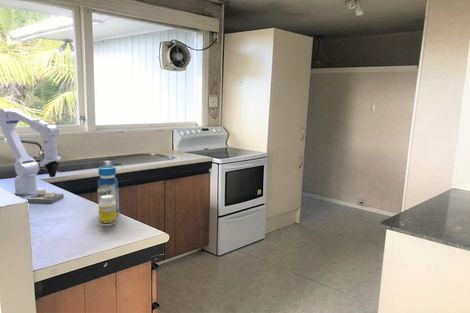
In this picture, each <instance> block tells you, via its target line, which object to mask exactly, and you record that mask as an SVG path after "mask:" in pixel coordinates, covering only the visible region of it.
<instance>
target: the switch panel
mask: <svg viewBox="0 0 470 313" xmlns="http://www.w3.org/2000/svg"><path fill="white" fill-rule="evenodd" d="M64 198H65V196H64V193H55V192H54V197H45V194H43V195H37V193H35V194H33V195H32V196H29V197H27V198H26V201H27V200H28V202H29V203H30V204H53V203H56V202H58V201H60V200H61V199H64ZM29 203H28V204H29Z"/></svg>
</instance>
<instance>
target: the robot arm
mask: <svg viewBox="0 0 470 313" xmlns="http://www.w3.org/2000/svg"><path fill="white" fill-rule="evenodd" d="M20 122H22V123H24V124H27V125H28V126H29V128H30V129H32V131H34V132H36V133H39V135H40V137H41V138H42V139H41V140H42V142H43V151H44V153H43V154H44V159H41V160H40V161H39V162H40V163H38V162H37V161H36V159H35V158H34V157H32V156H30V155H28V153H27V150H26V149H25V147H24V145H23V143H22V140H21V139H20V137H19V134H18V133H17V131H16V129H15V128H16V127H17V126H18V124H19V123H20ZM0 129H1V130H0V131H1V132H2V134H3V136H4V137H5V140H6V142H7V144H8V146H9V148H10V150H11V151H12V154H13V156H14V158H15V161H14V163H13V167H14V170H15V174H16V176H15V178H14V189H15V192H14V195H35V194H37V193H36V190H38V182H37V180H38V179H37V175H38V172H39V171H40V166H44V167H45V169H46V170H47V173H48V176H49V178H54V177H56V174H57V169H58V167H59V165H60V162H59V161H62V156H59V155H58V146H57V145H58V144H57V143H58V142H57V136H58V135H59V130H60V129H59V128H58V126H56V125H55V124H51V125H50V124H49V123H48V122H44V121H43V120H42V119H41V118H39V117H38V118H32V117H31V116H29V115H28V114H26V113H24V112H23V110H22V109H18V108H0ZM39 164H40V165H39Z"/></svg>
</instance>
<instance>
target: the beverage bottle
mask: <svg viewBox="0 0 470 313" xmlns="http://www.w3.org/2000/svg"><path fill="white" fill-rule="evenodd" d="M116 169H117V168H116V166H112V165H107V166H100V167H99V168H98V176H99V179H98V180H97V189H96V190H97V197H98V198H97V200H98V202H97V203H98V204H99V203H100V202H102V201H101V196H103V195H113V197H114V199H113V201H115V203H116V215H118V214H119V213H120V200H119V198H120V196H119V190H120V189H119V181H118V179H117V177H116V174H117V170H116Z"/></svg>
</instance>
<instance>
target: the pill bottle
mask: <svg viewBox="0 0 470 313" xmlns="http://www.w3.org/2000/svg"><path fill="white" fill-rule="evenodd" d="M113 199H114V197H113V195H103V196H101V201H102V202H100V203H99V202H98V214H99V225H100V226H102V227H103V226H104V227H110V226H111V227H112V226H114V225H116V223H117V222H118V221H117V219H118V218H117V214H116V203H115V201H113Z"/></svg>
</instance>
